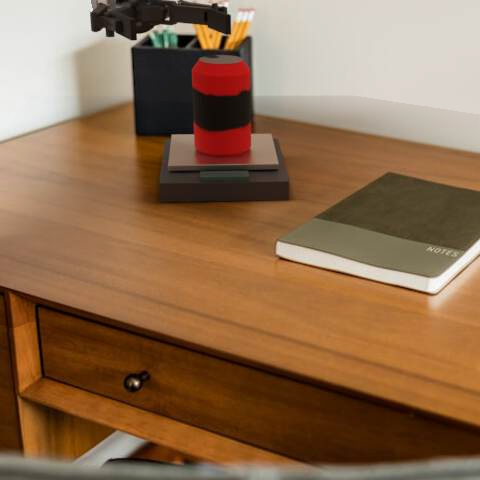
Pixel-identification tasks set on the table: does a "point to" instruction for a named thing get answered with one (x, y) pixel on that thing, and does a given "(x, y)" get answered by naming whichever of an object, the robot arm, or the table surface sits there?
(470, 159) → the table surface
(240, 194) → the scale
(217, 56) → the soda can
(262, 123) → the table surface
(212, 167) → the scale platter
